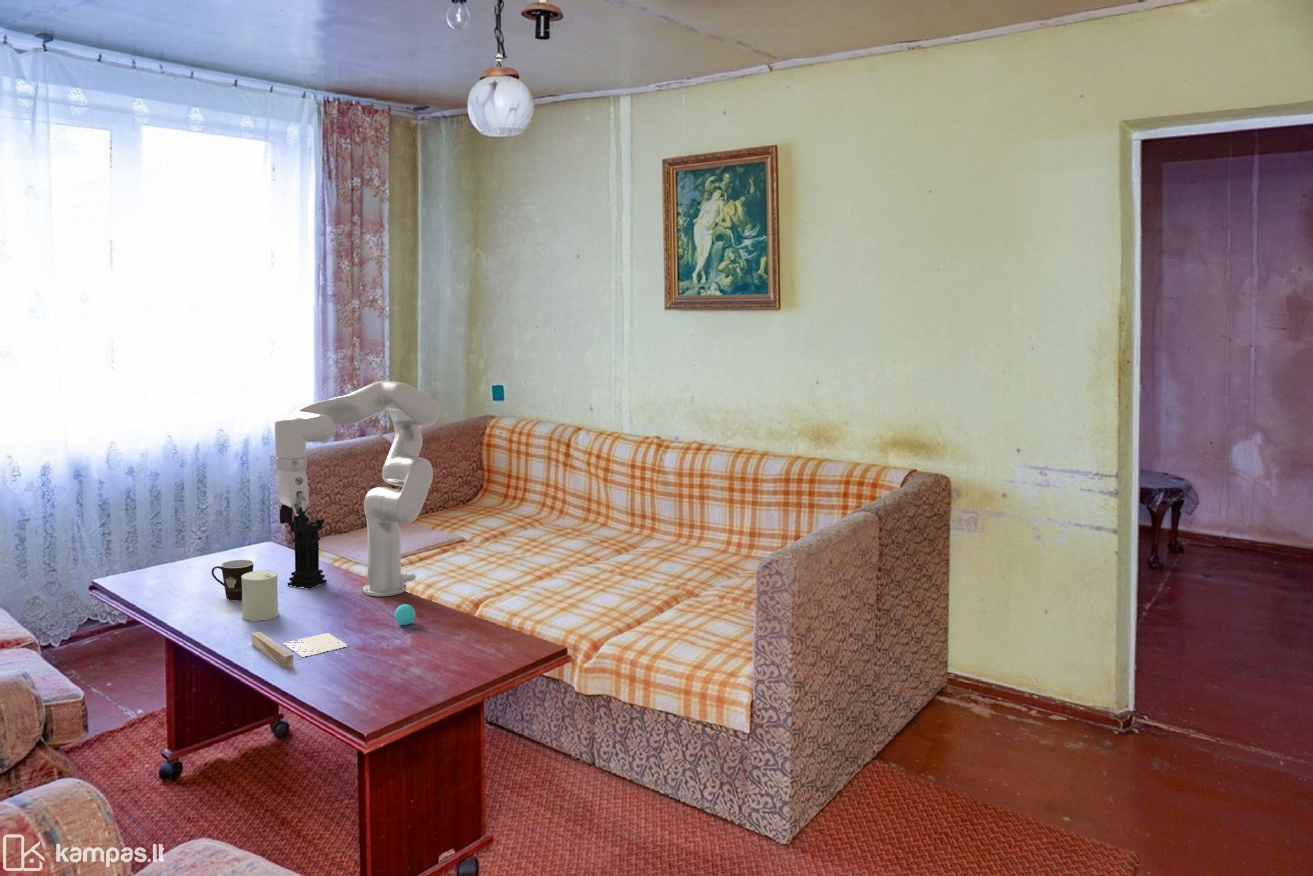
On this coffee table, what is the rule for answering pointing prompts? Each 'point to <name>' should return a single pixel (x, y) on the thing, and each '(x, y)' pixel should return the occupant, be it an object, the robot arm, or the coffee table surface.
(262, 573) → the can
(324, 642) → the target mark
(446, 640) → the coffee table surface
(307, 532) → the chess piece
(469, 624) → the coffee table surface
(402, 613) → the ball
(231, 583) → the coffee mug
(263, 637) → the rail
